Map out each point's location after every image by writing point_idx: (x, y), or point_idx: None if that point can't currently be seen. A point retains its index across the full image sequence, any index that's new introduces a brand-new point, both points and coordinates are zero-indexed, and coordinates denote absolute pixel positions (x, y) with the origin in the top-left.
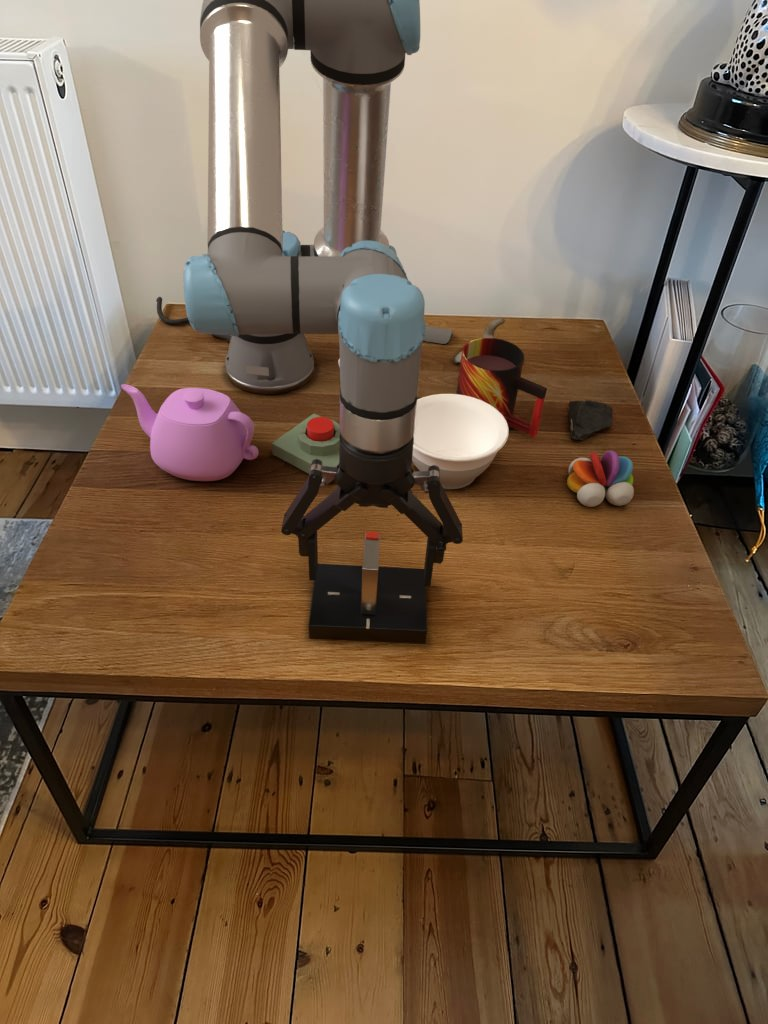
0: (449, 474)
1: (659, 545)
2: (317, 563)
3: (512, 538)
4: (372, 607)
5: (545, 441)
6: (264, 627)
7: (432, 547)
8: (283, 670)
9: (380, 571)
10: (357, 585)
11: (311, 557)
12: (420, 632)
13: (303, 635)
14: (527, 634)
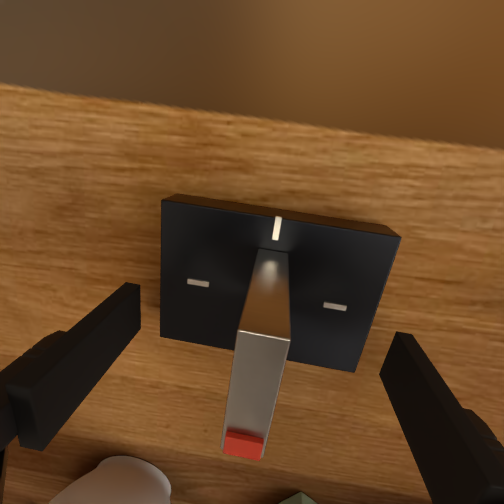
0: (109, 497)
1: None
2: (384, 375)
3: None
4: (264, 257)
5: (13, 496)
6: (466, 258)
7: (15, 389)
8: (455, 154)
9: None
10: None
11: (450, 403)
12: (175, 200)
13: None
14: (8, 197)
